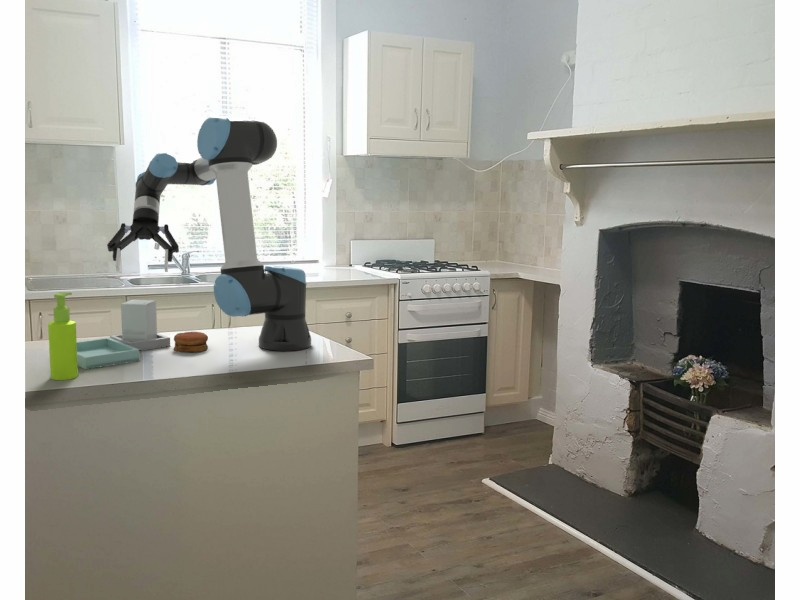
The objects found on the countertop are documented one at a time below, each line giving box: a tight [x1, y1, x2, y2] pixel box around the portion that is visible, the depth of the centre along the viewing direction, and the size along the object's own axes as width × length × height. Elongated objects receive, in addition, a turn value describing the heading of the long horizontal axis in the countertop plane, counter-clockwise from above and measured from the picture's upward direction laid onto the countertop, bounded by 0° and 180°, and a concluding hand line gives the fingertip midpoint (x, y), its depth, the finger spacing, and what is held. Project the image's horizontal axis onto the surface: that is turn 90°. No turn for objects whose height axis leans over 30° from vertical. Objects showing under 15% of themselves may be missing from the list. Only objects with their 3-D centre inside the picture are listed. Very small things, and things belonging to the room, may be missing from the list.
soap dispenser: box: [47, 291, 79, 381], centre depth 170 cm, size 6×7×20 cm
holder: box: [109, 332, 171, 351], centre depth 204 cm, size 12×12×2 cm
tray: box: [77, 337, 141, 370], centre depth 189 cm, size 18×14×3 cm
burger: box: [173, 331, 209, 353], centre depth 202 cm, size 10×9×5 cm
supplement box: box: [120, 299, 158, 342], centre depth 203 cm, size 7×7×13 cm
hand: (141, 269), depth 213 cm, fingers open, 13 cm apart
